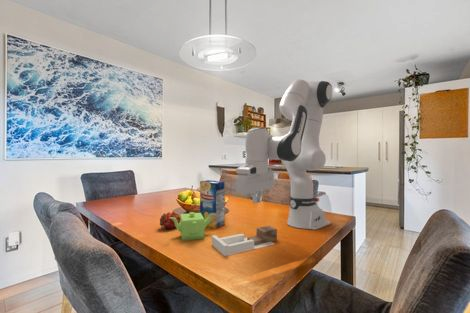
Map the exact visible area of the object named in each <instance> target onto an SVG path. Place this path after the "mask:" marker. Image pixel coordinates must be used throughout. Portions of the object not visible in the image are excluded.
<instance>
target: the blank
mask: <svg viewBox="0 0 470 313" xmlns="http://www.w3.org/2000/svg"><path fill="white" fill-rule="evenodd" d="M246 238H247V240H254V245H259V244H263V243H267V242H274V241H277V240H278V229H277V228H276V227H273V226H271V225H266V226H265V225H264V226H260V227H256V234H255V235H253V236H252V235H251V236H247V237H246Z"/></svg>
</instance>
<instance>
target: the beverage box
mask: <svg viewBox="0 0 470 313" xmlns="http://www.w3.org/2000/svg"><path fill="white" fill-rule="evenodd" d="M225 185H226V182H225V181H221V180H214V179H213V180H211V179H208V180H207V179H206V180H201V181H199V213H201V214H202V216H203V218H204V221H205V220H206V219H207V218H208V217H211V220H210V221H209V223H208V225H207V226H206V227H210V228H213V229H218V228H221V227H222V226H225V225H226V222H225V221H226V210H225V208H226V204H225V203H226V202H225V201H226V200H225V199H226V194H225V193H226V189H225V187H226V186H225Z"/></svg>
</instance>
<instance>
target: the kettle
mask: <svg viewBox="0 0 470 313" xmlns="http://www.w3.org/2000/svg"><path fill="white" fill-rule="evenodd" d="M179 217H180V222H179V223H178V221H177V219H176V218H175V217H170V219H172V220H173V221H174V223H175V226H176V227H175V228H176V229H177V231H178V232H180V236H181V241H182V242H183V241H184V242H186V241H192V240H193V241H194V240H202V239H203V240H204V239H205V231H206V230H205V229H206V227H208V226H207V225H208V223H209V221H210V220H211V217H208V218H207V219H206V220H205V221H204V218H203V216H202V214H201V213H200V212H193V211H191V212H189V213H180V214H179Z"/></svg>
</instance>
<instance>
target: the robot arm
mask: <svg viewBox="0 0 470 313" xmlns="http://www.w3.org/2000/svg"><path fill="white" fill-rule="evenodd" d="M332 97H333V87H332V84H331V83H330V82H329V81H324V80H321V81H308V82H307V81H306V80H304V79H299V78H298V79H295V80H293V81H292V82H291V83H290V85H289V86H287V89H286V90H285V92H284V94H283V95H282V98H281V100H280V102H279V106H278V107H279V108H278V110H279V112H280V113H281V115H282V116H283V117H284V118H285V119H287V120H290V121H291V124H290V127H289V131H288V133H287V134H285V135H277V136H274V135H272V134H271V133H269V132H268V131H267V127H263V126H262V127H253V128H250V129H249V130H247V133H246V135H245V153H246V158H245V163H243V164H242V165H241V166H239V167H237V168H236V169H235V170H236V174H237V175H236V178H235V191H236V193H237V195H242V196H244V195H249V194H250V197H251V199H252V204H260V203H261V202H262V201H261V200H262V199H261V198H262V196H263V195H264V192H265V191H269V190H274V189H275V185H276V184H275V181H276V180H275V174H274V170H273V168H271V167H270V166H269V160H274V161H275V160H276V161H281V164H282V165H283V166H284V167H285V169H286V171H287V174H288V177H289V181H290V182H289V183H290V196H289V205H290V206H289V212H288V218H287V222H286V224H287V225H289V226H290V227H292V228H296V229H306V230H319V229H321V228H323V227H324V228H325V227H326V226H328V225H331V221H329V220H328V219H327V218H326V212H325V211H324V209H322V208H321V207H320V206H318V204H316V202H317V203H319V201H320V198H319V197H316V196H315V197H314V181H313V180H312V179H311V178H310V177H309V175H308V173H307V171H310V172H311V171H318V170H321V169H323V168H324V166H325V164H326V160H327V159H326V158H327V157H326V154H325V152H324V151H323V150H322V148H321V147H320V141H319V140H320V134H321V128H322V122H323V119H324V118H323V116H324V107H326V105H327V104H328V103H329V102H330V100H331V99H332Z"/></svg>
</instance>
